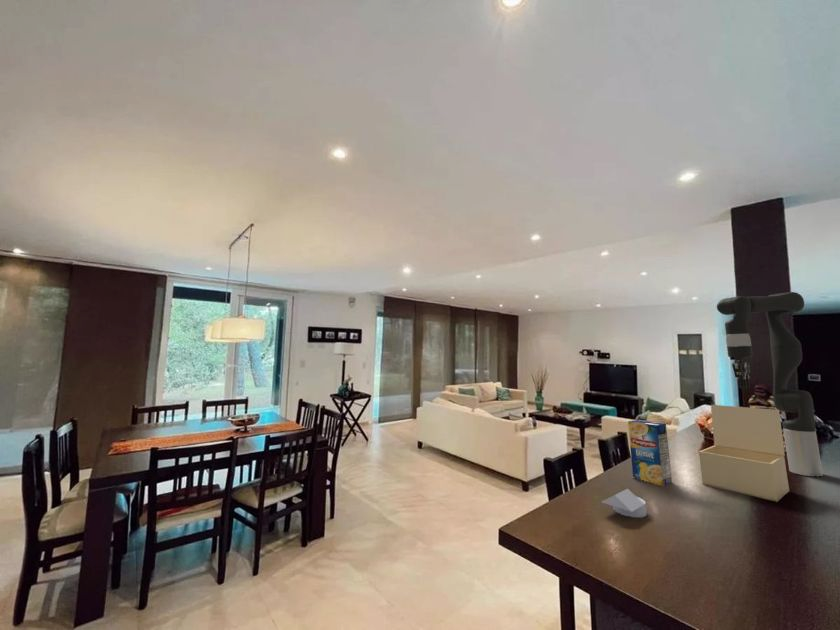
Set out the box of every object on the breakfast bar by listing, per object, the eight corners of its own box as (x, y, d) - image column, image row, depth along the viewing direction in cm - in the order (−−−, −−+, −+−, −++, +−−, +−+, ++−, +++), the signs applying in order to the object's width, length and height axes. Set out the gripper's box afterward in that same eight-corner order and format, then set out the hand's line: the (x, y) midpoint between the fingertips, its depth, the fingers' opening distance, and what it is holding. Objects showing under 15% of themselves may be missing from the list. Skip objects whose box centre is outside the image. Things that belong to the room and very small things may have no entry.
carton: (718, 476, 140) (714, 445, 141) (789, 491, 123) (784, 456, 125) (702, 484, 131) (698, 451, 133) (776, 501, 114) (771, 463, 116)
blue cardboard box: (663, 486, 130) (657, 425, 133) (632, 478, 139) (627, 421, 142) (672, 482, 133) (666, 423, 136) (642, 475, 143) (637, 419, 146)
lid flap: (714, 445, 141) (720, 444, 145) (784, 455, 125) (788, 454, 128) (710, 404, 144) (716, 404, 148) (778, 409, 128) (783, 409, 131)
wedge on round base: (633, 524, 101) (651, 512, 108) (630, 499, 102) (649, 489, 109) (601, 513, 108) (621, 503, 116) (599, 490, 109) (619, 481, 116)
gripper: (732, 346, 149) (738, 387, 147) (721, 345, 141) (726, 388, 139) (756, 345, 143) (762, 387, 141) (745, 344, 135) (751, 389, 133)
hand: (744, 388), depth 140 cm, fingers open, 3 cm apart
